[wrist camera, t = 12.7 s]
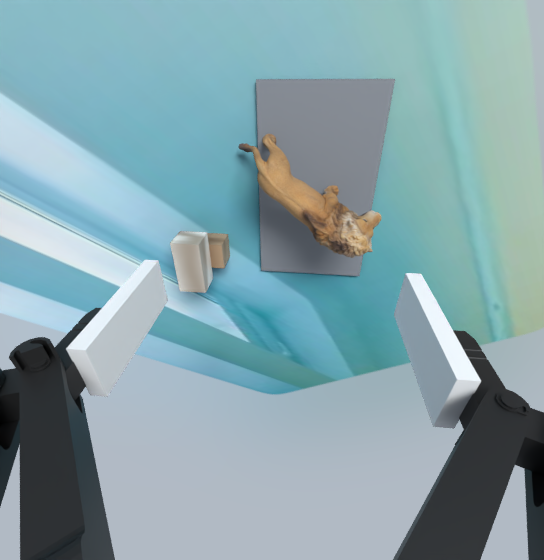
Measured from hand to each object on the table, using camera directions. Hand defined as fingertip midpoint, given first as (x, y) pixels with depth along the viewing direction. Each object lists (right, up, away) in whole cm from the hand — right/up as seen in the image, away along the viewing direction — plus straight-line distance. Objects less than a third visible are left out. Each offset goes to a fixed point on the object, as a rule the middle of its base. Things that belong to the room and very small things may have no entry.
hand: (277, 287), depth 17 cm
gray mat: (+4, +10, +16) cm, 19 cm away
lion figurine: (+4, +11, +15) cm, 19 cm away
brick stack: (-9, +5, +21) cm, 23 cm away
